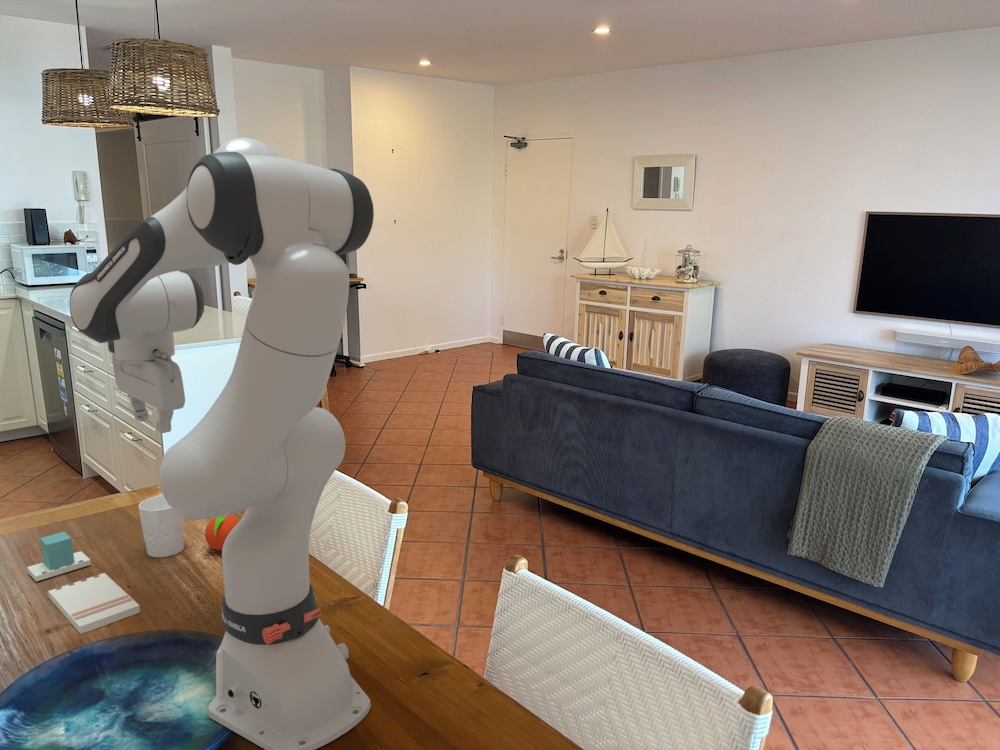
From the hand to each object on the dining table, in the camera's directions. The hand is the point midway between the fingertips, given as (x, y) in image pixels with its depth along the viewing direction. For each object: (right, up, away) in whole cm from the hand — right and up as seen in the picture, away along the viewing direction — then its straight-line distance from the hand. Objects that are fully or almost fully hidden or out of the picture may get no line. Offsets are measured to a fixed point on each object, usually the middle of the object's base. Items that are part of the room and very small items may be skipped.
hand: (152, 425), depth 125 cm
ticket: (-9, -30, -1) cm, 31 cm away
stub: (-22, -27, +10) cm, 36 cm away
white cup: (-6, -26, +19) cm, 32 cm away
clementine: (+5, -26, +19) cm, 32 cm away
